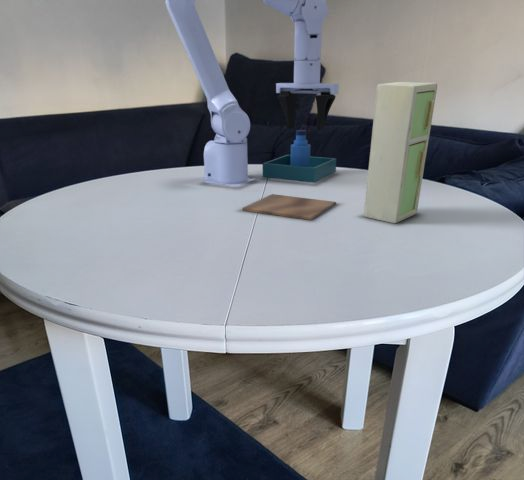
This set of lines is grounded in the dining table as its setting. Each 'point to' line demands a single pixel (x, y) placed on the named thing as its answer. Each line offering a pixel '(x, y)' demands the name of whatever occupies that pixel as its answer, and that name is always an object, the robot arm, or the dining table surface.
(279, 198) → the brown wooden board
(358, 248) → the dining table surface
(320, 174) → the teal square tray
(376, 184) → the toy refrigerator
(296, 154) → the water bottle
